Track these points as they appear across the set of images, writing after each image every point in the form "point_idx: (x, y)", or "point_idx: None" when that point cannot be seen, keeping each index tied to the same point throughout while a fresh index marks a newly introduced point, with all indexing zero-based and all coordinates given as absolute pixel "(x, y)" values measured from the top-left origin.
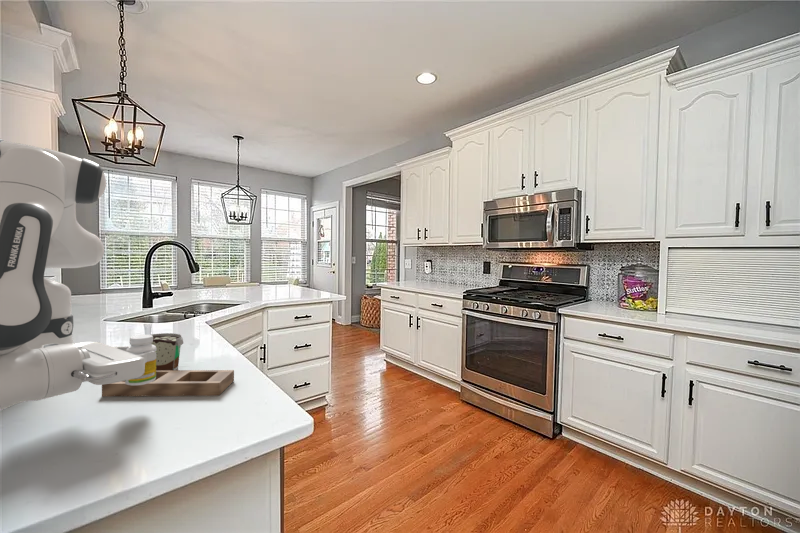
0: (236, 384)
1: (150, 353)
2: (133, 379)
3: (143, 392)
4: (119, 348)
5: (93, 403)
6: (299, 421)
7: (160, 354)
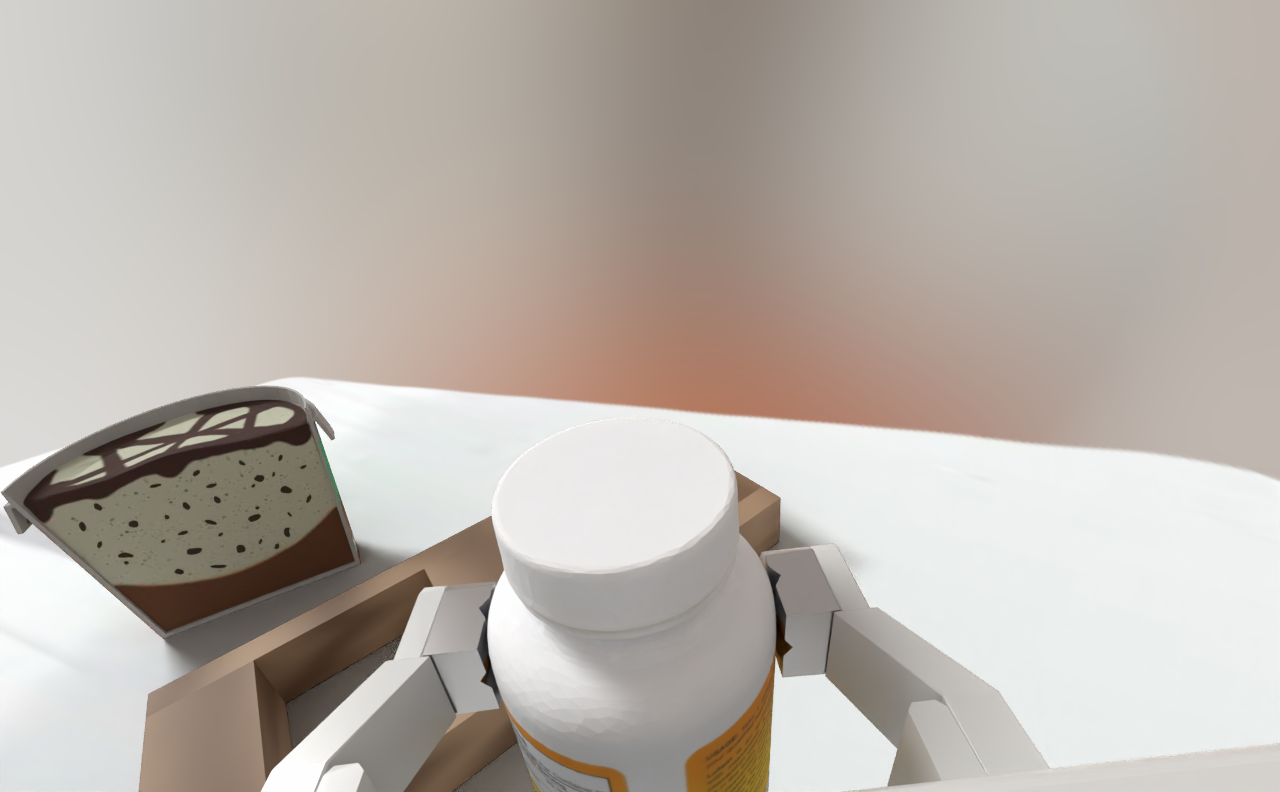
0: None
1: (851, 585)
2: None
3: (471, 759)
4: (363, 744)
5: None
6: (1245, 478)
7: (238, 516)
